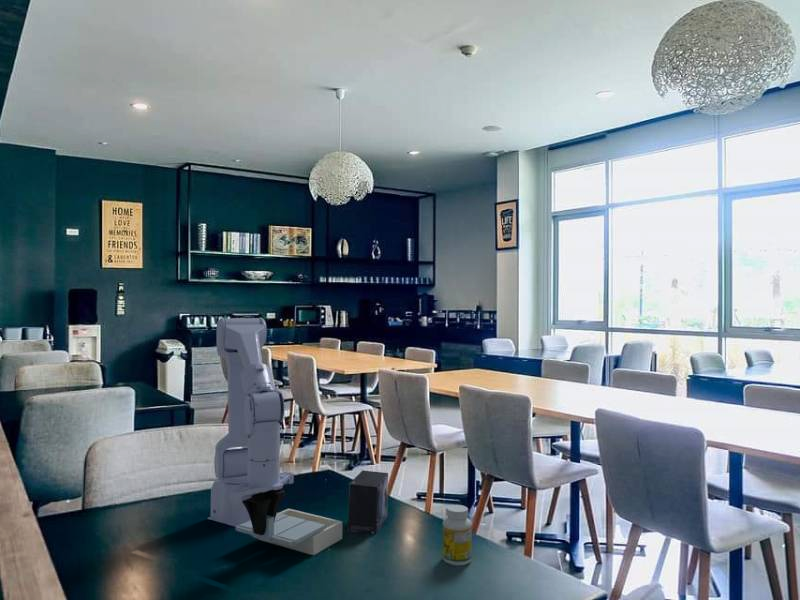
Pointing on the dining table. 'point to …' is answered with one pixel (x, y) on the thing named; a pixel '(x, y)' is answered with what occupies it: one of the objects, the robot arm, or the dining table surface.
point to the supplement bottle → (457, 536)
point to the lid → (284, 529)
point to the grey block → (317, 540)
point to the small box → (368, 502)
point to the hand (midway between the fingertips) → (263, 531)
